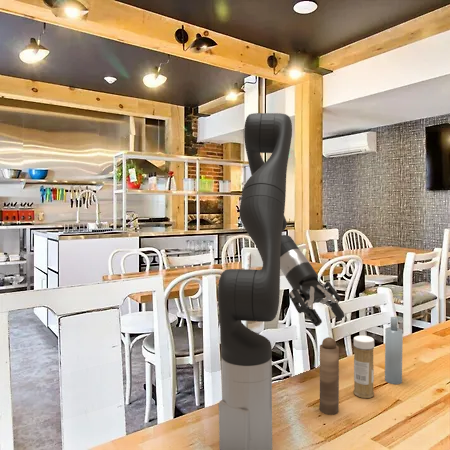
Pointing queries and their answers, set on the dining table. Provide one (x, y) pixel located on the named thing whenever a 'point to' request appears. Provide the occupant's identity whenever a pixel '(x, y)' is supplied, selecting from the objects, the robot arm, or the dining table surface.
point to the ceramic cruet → (393, 352)
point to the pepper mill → (329, 377)
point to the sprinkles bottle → (363, 366)
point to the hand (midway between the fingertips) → (330, 321)
